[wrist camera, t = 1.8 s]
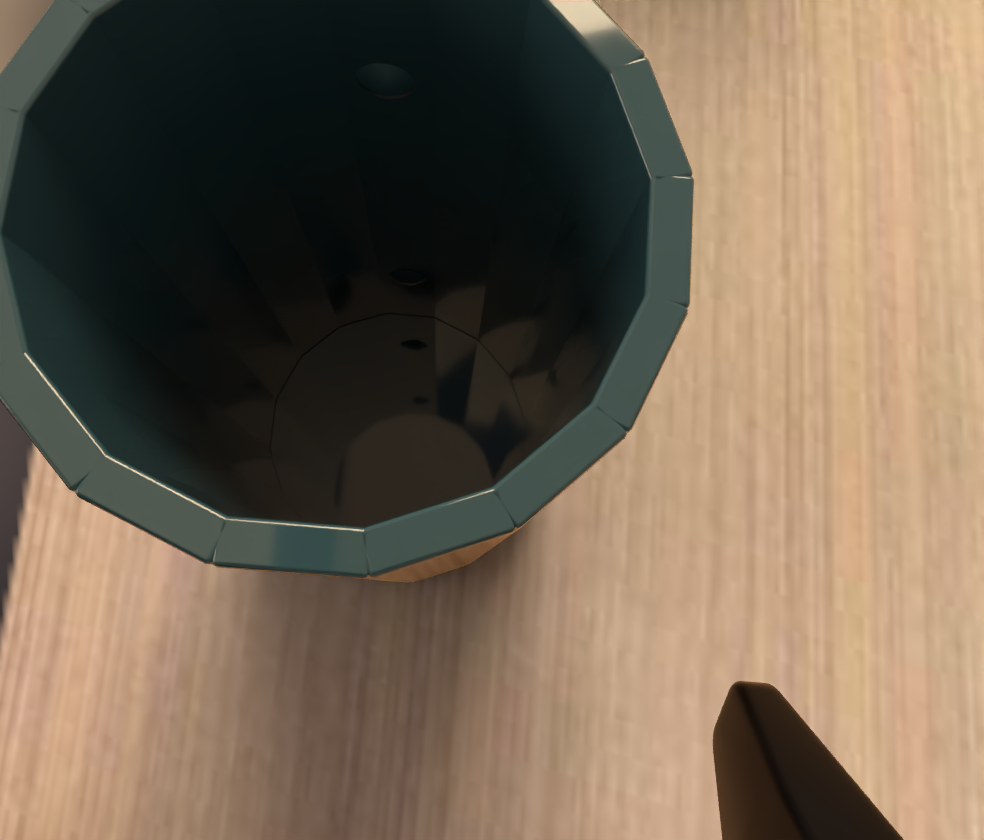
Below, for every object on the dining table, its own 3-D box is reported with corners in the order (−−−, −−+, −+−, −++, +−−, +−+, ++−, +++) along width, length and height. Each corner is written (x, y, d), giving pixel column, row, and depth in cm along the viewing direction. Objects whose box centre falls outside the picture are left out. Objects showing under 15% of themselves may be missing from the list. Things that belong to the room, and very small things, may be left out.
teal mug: (528, 592, 20) (680, 604, 7) (240, 568, 20) (-121, 540, 7) (556, 189, 22) (712, -343, 9) (295, 163, 22) (93, -424, 9)
